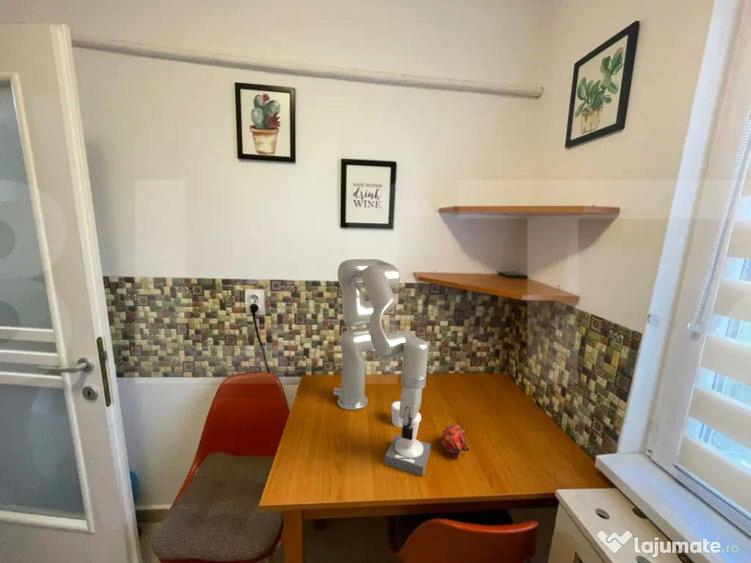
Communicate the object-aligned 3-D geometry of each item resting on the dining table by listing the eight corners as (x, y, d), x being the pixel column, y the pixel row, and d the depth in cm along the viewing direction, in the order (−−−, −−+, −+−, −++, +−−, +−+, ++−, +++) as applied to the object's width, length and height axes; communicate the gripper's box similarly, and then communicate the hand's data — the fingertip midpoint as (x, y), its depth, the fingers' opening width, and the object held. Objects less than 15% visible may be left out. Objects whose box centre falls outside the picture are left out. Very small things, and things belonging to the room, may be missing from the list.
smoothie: (420, 438, 101) (424, 399, 99) (416, 451, 95) (420, 409, 93) (401, 433, 103) (404, 394, 101) (396, 446, 97) (399, 405, 95)
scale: (384, 464, 96) (385, 453, 96) (395, 442, 107) (395, 432, 106) (422, 476, 92) (423, 465, 92) (430, 452, 102) (430, 442, 102)
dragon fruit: (451, 440, 111) (457, 470, 100) (433, 428, 110) (437, 456, 99) (468, 426, 109) (476, 455, 97) (449, 413, 108) (455, 440, 96)
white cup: (389, 417, 121) (390, 400, 120) (406, 417, 122) (407, 400, 120) (391, 428, 114) (392, 410, 113) (410, 428, 115) (411, 410, 114)
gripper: (409, 365, 105) (405, 414, 108) (393, 389, 89) (389, 445, 92) (431, 370, 102) (427, 420, 105) (419, 395, 86) (414, 453, 89)
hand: (409, 431), depth 99 cm, fingers closed on smoothie, 6 cm apart
